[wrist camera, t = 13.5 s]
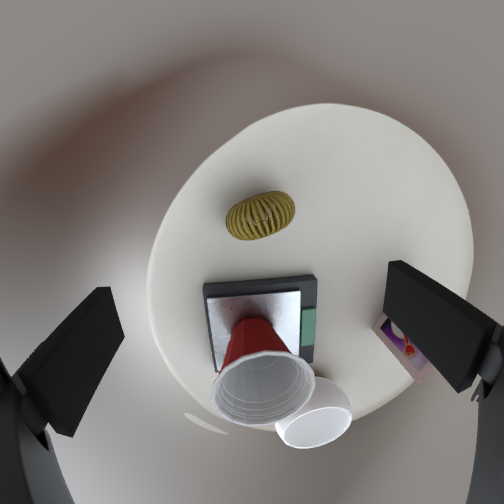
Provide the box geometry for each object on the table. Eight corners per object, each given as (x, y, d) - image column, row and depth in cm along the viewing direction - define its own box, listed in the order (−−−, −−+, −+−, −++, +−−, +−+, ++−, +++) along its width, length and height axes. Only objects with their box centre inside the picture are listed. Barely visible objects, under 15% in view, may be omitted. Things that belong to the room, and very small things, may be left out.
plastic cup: (303, 348, 37) (328, 406, 26) (235, 374, 38) (238, 436, 26) (277, 286, 34) (300, 337, 23) (200, 317, 35) (190, 378, 23)
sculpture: (232, 236, 35) (233, 253, 27) (221, 207, 34) (218, 216, 26) (291, 214, 35) (308, 225, 27) (280, 184, 34) (295, 187, 26)
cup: (325, 410, 46) (339, 446, 36) (264, 412, 44) (270, 452, 35) (345, 363, 42) (367, 399, 33) (277, 363, 41) (288, 405, 32)
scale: (203, 283, 36) (201, 291, 34) (313, 274, 37) (319, 281, 35) (215, 364, 40) (215, 376, 38) (309, 355, 41) (314, 365, 38)
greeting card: (410, 270, 39) (471, 309, 24) (430, 291, 40) (486, 329, 26) (368, 326, 41) (415, 383, 26) (392, 342, 42) (437, 393, 28)
